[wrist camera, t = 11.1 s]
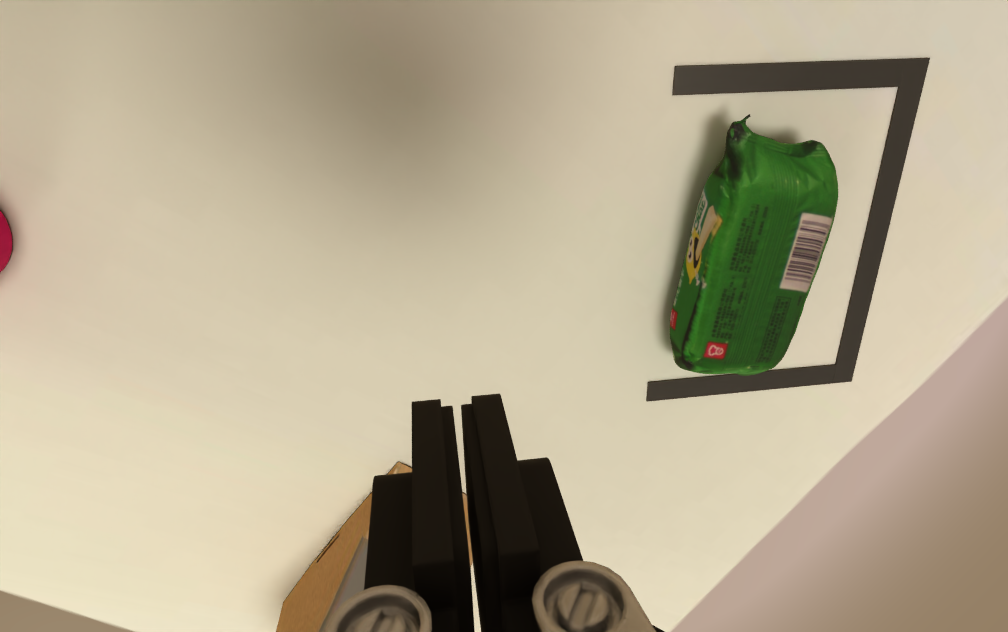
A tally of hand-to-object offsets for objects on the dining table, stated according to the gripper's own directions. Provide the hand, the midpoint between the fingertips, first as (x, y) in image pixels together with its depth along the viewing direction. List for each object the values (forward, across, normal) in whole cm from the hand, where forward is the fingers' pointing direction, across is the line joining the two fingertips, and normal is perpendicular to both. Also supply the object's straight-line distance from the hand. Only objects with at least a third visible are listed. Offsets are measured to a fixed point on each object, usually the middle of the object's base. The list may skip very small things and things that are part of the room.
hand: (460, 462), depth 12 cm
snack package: (+25, -18, +5) cm, 32 cm away
